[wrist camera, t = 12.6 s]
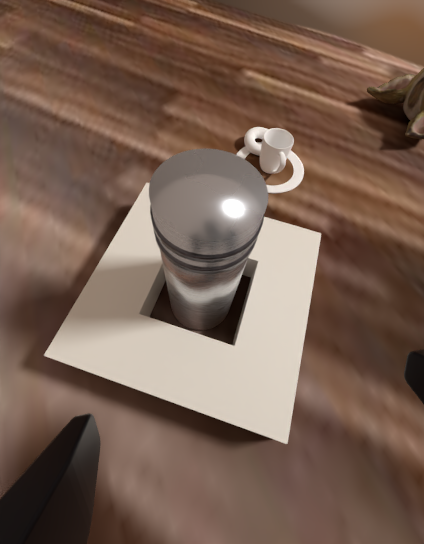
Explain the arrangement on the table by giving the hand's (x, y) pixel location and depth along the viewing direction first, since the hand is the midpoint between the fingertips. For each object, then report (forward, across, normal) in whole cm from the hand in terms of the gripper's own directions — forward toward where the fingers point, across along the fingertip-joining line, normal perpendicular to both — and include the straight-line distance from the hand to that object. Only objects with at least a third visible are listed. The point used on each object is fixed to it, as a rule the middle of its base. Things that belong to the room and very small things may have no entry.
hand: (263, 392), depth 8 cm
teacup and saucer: (+27, -13, -7) cm, 31 cm away
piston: (+15, 0, +4) cm, 16 cm away
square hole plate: (+15, 0, +4) cm, 16 cm away
